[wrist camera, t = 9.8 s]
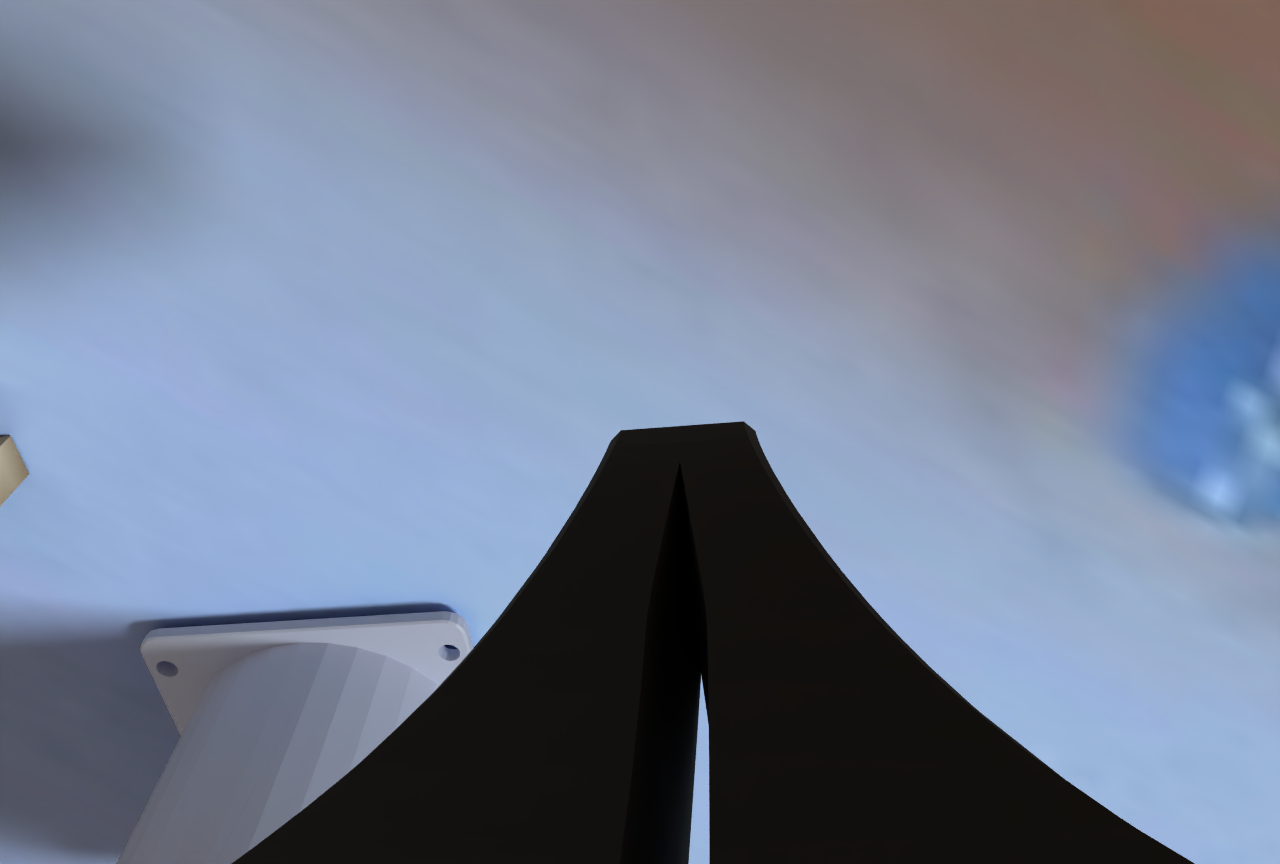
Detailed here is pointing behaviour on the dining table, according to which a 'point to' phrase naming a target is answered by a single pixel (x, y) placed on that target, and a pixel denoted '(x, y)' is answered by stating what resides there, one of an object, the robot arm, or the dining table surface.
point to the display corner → (10, 468)
